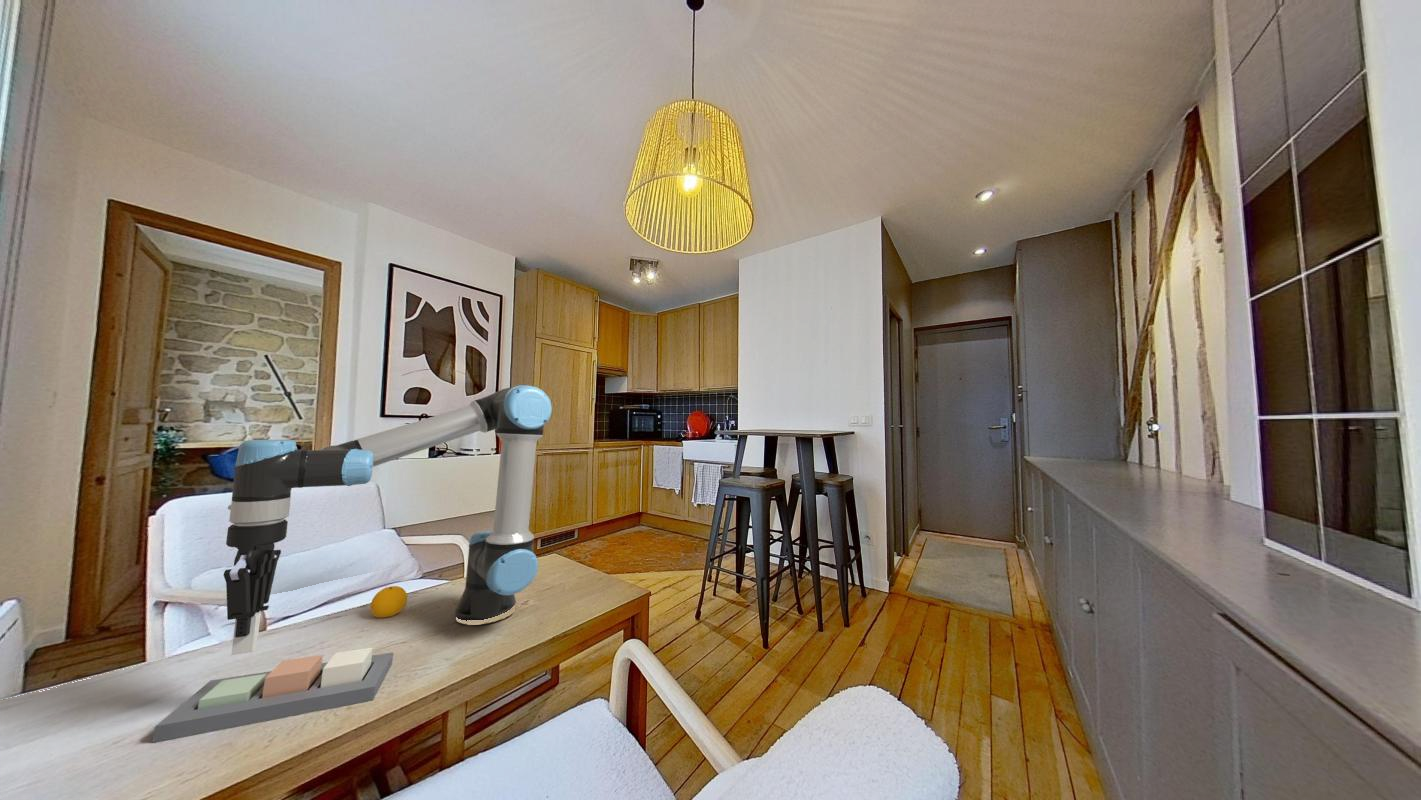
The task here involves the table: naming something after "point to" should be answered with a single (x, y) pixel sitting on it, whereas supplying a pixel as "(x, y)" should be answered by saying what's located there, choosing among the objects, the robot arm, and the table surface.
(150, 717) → the table surface
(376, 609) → the yellow lemon
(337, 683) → the cream square block
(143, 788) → the table surface
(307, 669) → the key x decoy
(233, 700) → the key
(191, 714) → the keypad board
